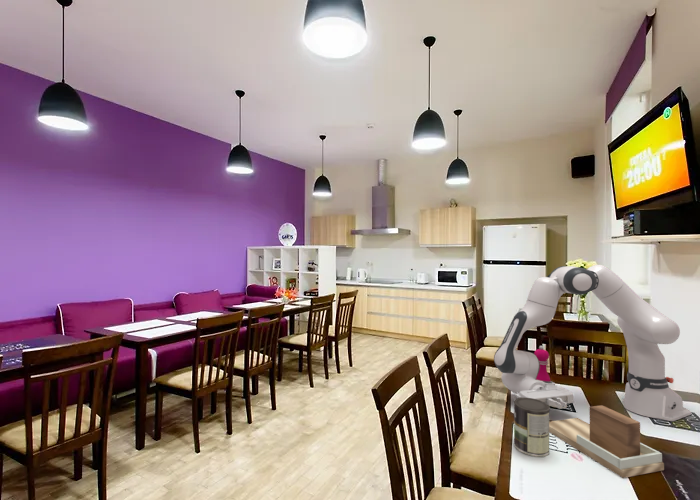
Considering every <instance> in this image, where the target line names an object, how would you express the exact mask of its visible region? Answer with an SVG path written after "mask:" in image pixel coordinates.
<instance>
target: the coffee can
mask: <svg viewBox="0 0 700 500" xmlns="http://www.w3.org/2000/svg"><path fill="white" fill-rule="evenodd" d="M550 411H551V406H549V405H548V404H546V403H545V402H543V401H540V400H537V399H533V398H517V397H516V398H515V399H513V447H515V449H516V450H518V451H519V452H520V453H522V454H525V455H527V456H531V457H538V458H541V457H547V456H548V455H549V454H550V432H549V422H550Z"/></svg>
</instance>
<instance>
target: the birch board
mask: <svg viewBox="0 0 700 500" xmlns="http://www.w3.org/2000/svg"><path fill="white" fill-rule="evenodd" d="M549 434H551V435H553V436H555V437H557V438H558V439H560V440H561V441H563V442H565V443H566V444H568V445H569V446H571V447H573V448H574V449H576V450H578V451H579V452H581V453H582V454H584V455H585V456H587V457H589V458H590V459H592V460H593V461H595V462H596V463H598V464H599V465H602V466H603V467H605V468H606V469H608V470H610V471H611V472H613V473H614V474H616V475H618V476H619V477H621V478H622V479H624V478H625V479H626V478H629V477H636V476H639V475H645V474H650V473H656V472H660V471H662V472H663V471H664V470H665V463H664V462H663V461H662V462H660V463H655V464H649V465H644V466H638V467H633V468H627V469H622V470H621V469H619V468H618V467H616V466H614V465H613V464H611V463H609V462H608V461H606V460H604V459H603V458H601V457H599V456H598V455H596V454H594V453H593V452H591V451H589V450H588V449H586V448H584V447H583V446H581V445H580V444H578V443H577V435H580V436H582V437H584V438H586V439H587V440H589V441H590V423H588V422H586V421H584V420H582V419H581V418H579V417H576V418H575V417H573V418H567V419H559V420H552V421H550V420H549ZM640 455H644V454H643V453H641V452H640Z"/></svg>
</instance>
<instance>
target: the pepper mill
mask: <svg viewBox="0 0 700 500" xmlns="http://www.w3.org/2000/svg"><path fill="white" fill-rule="evenodd" d="M533 354H535V355H536V357H537V358H538V360H539V363H540V368H539V373H538V375H537V378H536V380H540V381H549V382H552V381H551V377H550V375H549V372H548V370H547V369H548V368H547V366H548V364H549V363H548V361H549V360H548V359H549V358H550V354H549V352H548V351H547V350H546V349H544V346H543V345H539V347H538V348H537V349H535V350H534V352H533Z"/></svg>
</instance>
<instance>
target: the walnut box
mask: <svg viewBox="0 0 700 500" xmlns="http://www.w3.org/2000/svg"><path fill="white" fill-rule="evenodd" d="M589 424H590V441H591V442H593V443H594V444H596V445H598V446H599V447H601V448H603V449H605V450H606V451H608V452H610V453H612V454H613V455H615V456H617V457H619V458H620V459H621V458H627V457H633V456H639V455H640V443H641V422H640V421H638V420H636V419H634V418H632V417H629V416H628V415H624V414H622V413H620V412H618V411H615V410H613V409H611V408H609V407H607V406H605V405H594V406H593V405H592V406H589Z"/></svg>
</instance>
